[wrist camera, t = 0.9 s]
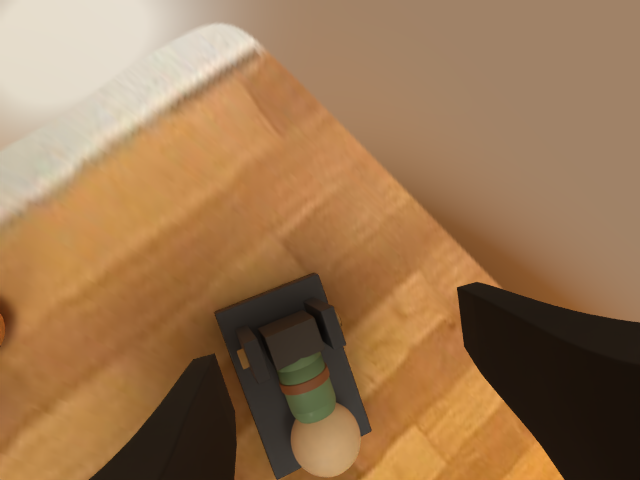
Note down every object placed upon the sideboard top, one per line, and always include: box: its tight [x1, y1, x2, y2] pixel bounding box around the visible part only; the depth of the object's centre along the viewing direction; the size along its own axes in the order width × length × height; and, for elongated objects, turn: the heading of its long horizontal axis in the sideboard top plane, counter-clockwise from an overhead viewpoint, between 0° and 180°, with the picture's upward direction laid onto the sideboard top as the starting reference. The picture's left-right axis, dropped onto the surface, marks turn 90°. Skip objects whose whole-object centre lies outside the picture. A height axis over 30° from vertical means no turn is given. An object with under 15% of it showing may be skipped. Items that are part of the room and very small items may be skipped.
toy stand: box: [214, 273, 371, 480], centre depth 28 cm, size 12×7×5 cm, turn 19°
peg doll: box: [258, 310, 361, 477], centre depth 27 cm, size 4×4×10 cm
